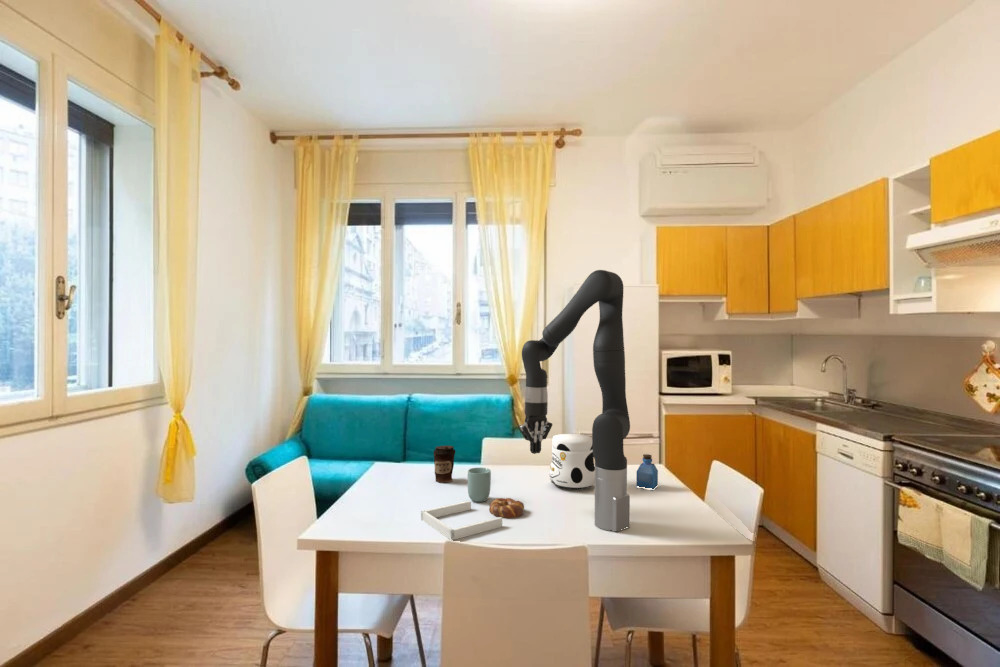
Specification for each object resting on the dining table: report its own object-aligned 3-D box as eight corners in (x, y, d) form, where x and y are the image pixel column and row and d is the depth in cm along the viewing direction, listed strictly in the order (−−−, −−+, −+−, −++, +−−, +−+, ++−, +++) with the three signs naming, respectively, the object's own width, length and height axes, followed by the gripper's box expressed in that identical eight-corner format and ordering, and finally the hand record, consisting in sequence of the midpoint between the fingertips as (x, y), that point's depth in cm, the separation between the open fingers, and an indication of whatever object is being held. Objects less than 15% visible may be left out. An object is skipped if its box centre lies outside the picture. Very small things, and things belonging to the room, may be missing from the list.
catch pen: (502, 526, 136) (502, 517, 136) (451, 540, 126) (451, 531, 126) (469, 508, 150) (469, 500, 150) (421, 519, 140) (421, 511, 140)
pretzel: (480, 512, 148) (480, 500, 148) (504, 504, 156) (504, 493, 156) (507, 522, 139) (507, 510, 140) (531, 513, 147) (531, 501, 147)
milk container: (539, 485, 175) (540, 437, 176) (566, 476, 188) (567, 431, 188) (579, 496, 163) (579, 444, 164) (604, 485, 176) (605, 437, 177)
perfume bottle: (657, 486, 176) (657, 454, 176) (653, 491, 171) (653, 458, 171) (641, 484, 179) (641, 452, 179) (636, 488, 174) (636, 455, 174)
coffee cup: (453, 484, 176) (454, 449, 176) (431, 484, 176) (431, 449, 176) (456, 477, 184) (456, 444, 185) (435, 477, 184) (435, 444, 185)
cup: (487, 504, 154) (487, 474, 154) (464, 503, 155) (465, 472, 156) (492, 497, 161) (493, 468, 162) (470, 495, 163) (471, 466, 163)
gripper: (527, 403, 148) (526, 458, 148) (558, 400, 156) (558, 452, 156) (513, 400, 154) (512, 453, 154) (544, 398, 162) (543, 448, 162)
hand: (535, 452), depth 155 cm, fingers closed
